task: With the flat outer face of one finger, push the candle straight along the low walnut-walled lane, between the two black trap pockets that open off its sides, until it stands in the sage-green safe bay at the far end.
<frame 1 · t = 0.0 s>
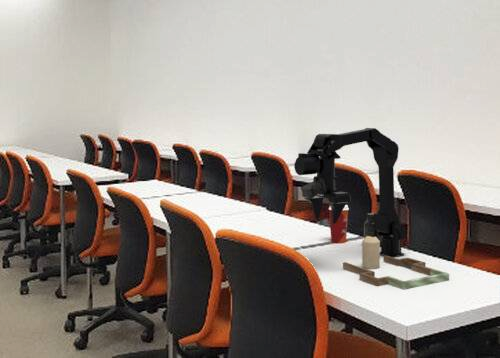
hand: (325, 221, 210), 15 cm above the table, tool pointing down, fingers open, 9 cm apart
trap lane: (390, 272, 202), on the table
supplement bottle: (373, 246, 240), on the table
paper cup: (338, 242, 248), on the table
candle: (370, 267, 209), on the table
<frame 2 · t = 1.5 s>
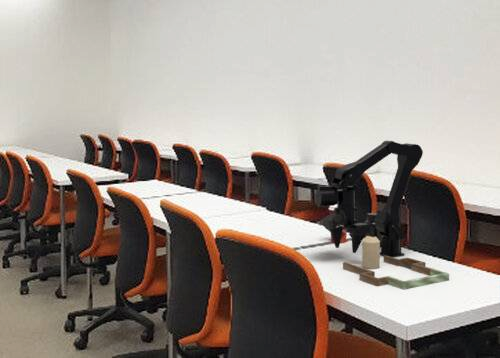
hand: (345, 250, 220), 3 cm above the table, tool pointing down, fingers open, 9 cm apart
nothing on the table moved.
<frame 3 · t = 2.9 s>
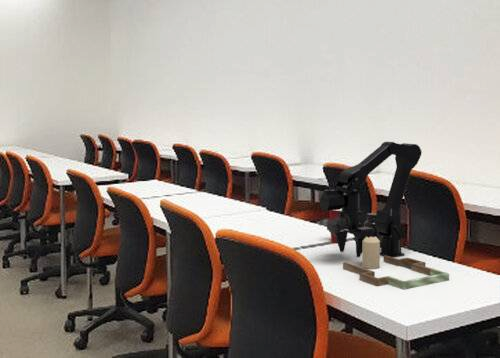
hand: (350, 254, 218), 2 cm above the table, tool pointing down, fingers open, 8 cm apart
candle: (370, 267, 209), on the table, touching gripper
everything else where it was.
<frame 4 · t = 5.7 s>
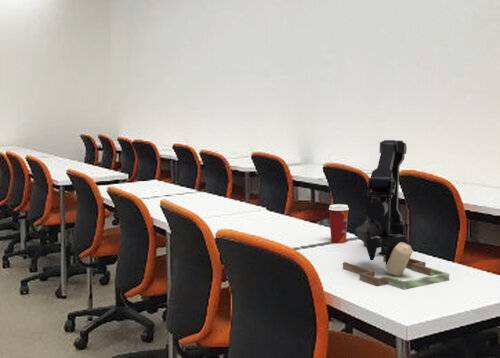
hand: (379, 263, 205), 2 cm above the table, tool pointing down, fingers open, 7 cm apart
candle: (393, 270, 200), point 1 cm above the table, touching gripper
everything else where it was.
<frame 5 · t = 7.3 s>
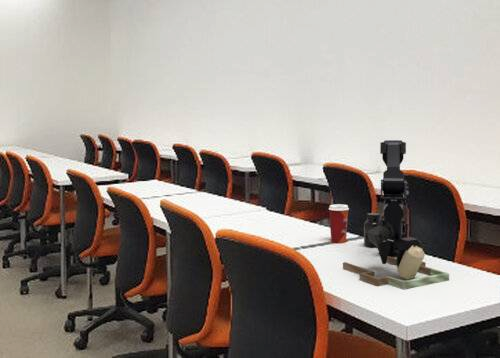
hand: (391, 266, 201), 2 cm above the table, tool pointing down, fingers open, 6 cm apart
candle: (405, 274, 196), point 1 cm above the table, touching gripper, trap lane
everything else where it was.
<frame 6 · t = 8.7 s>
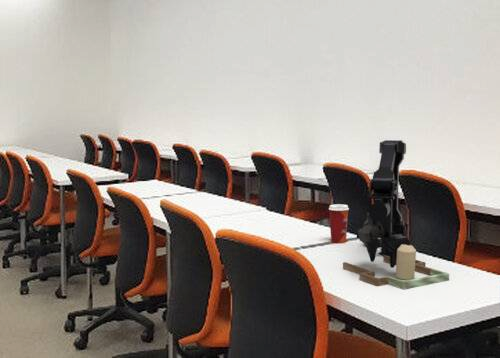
hand: (382, 264, 205), 2 cm above the table, tool pointing down, fingers open, 9 cm apart
candle: (404, 277, 196), on the table, touching gripper
everything else where it was.
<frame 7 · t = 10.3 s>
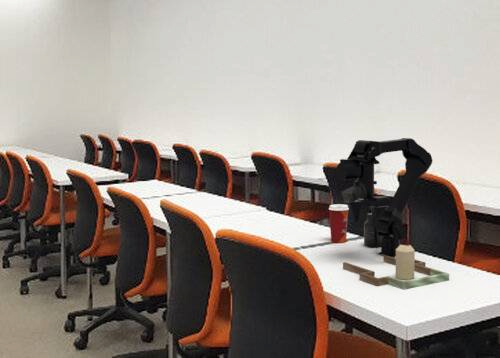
hand: (365, 224, 218), 12 cm above the table, tool pointing down, fingers open, 9 cm apart
candle: (404, 278, 196), on the table
everything else where it was.
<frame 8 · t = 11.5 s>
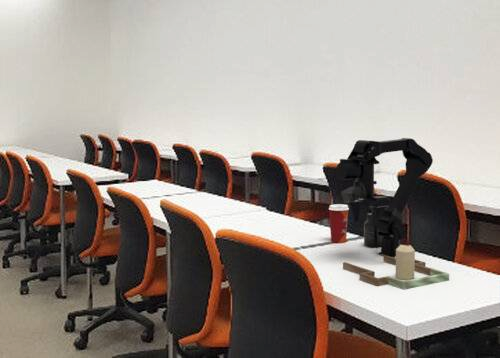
hand: (364, 224, 218), 12 cm above the table, tool pointing down, fingers open, 9 cm apart
nothing on the table moved.
at the end: candle inside the target area (4.1 cm from its centre), on the table; candle tilted 0° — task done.
